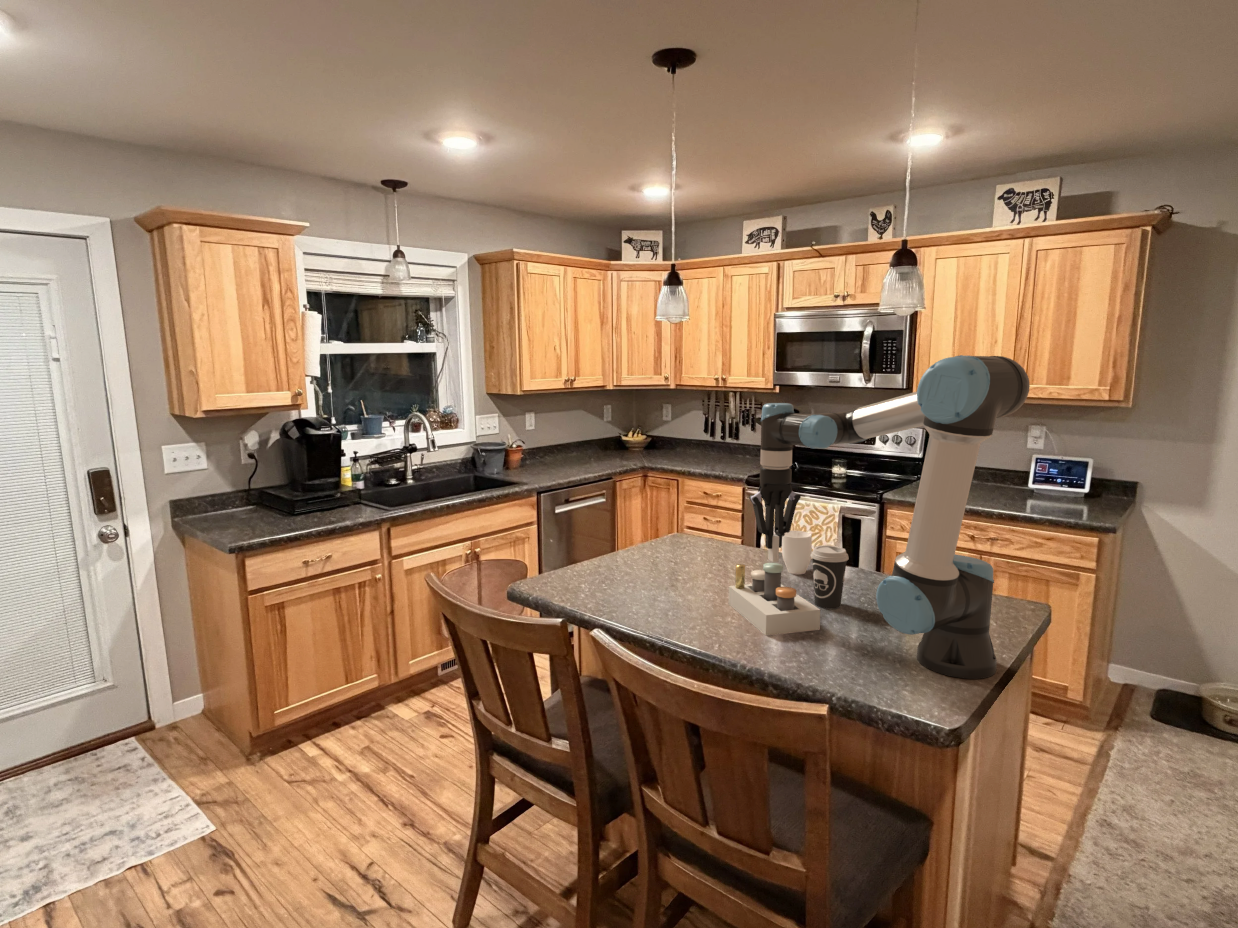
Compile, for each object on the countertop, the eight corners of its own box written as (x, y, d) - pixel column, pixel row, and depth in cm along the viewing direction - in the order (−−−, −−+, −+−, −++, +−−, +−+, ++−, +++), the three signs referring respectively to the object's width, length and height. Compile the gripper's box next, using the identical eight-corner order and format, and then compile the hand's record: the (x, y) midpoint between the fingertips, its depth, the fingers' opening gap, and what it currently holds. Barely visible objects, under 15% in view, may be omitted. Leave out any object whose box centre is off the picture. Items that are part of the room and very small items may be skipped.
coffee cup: (848, 612, 176) (851, 555, 174) (809, 609, 178) (812, 553, 176) (844, 599, 186) (846, 545, 183) (807, 597, 187) (809, 543, 185)
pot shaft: (746, 588, 180) (746, 566, 179) (737, 589, 179) (738, 566, 178) (742, 585, 182) (742, 563, 181) (733, 586, 181) (734, 564, 180)
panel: (819, 629, 165) (820, 609, 164) (765, 635, 162) (766, 615, 161) (777, 599, 186) (777, 581, 185) (728, 604, 183) (728, 585, 182)
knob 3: (798, 629, 165) (800, 592, 164) (780, 631, 164) (781, 593, 163) (789, 621, 170) (790, 585, 169) (771, 623, 169) (772, 587, 167)
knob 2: (785, 603, 171) (786, 567, 170) (767, 605, 170) (768, 568, 169) (776, 596, 176) (777, 562, 175) (759, 598, 175) (760, 563, 174)
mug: (803, 578, 204) (803, 538, 202) (776, 573, 210) (776, 534, 208) (820, 568, 213) (820, 530, 211) (793, 564, 219) (793, 527, 217)
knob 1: (772, 609, 179) (773, 574, 177) (755, 610, 178) (755, 576, 176) (763, 602, 183) (764, 569, 182) (747, 604, 182) (747, 570, 181)
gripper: (792, 463, 173) (789, 554, 177) (744, 465, 170) (742, 558, 174) (807, 468, 166) (804, 562, 170) (757, 470, 163) (755, 567, 167)
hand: (773, 560), depth 172 cm, fingers closed
